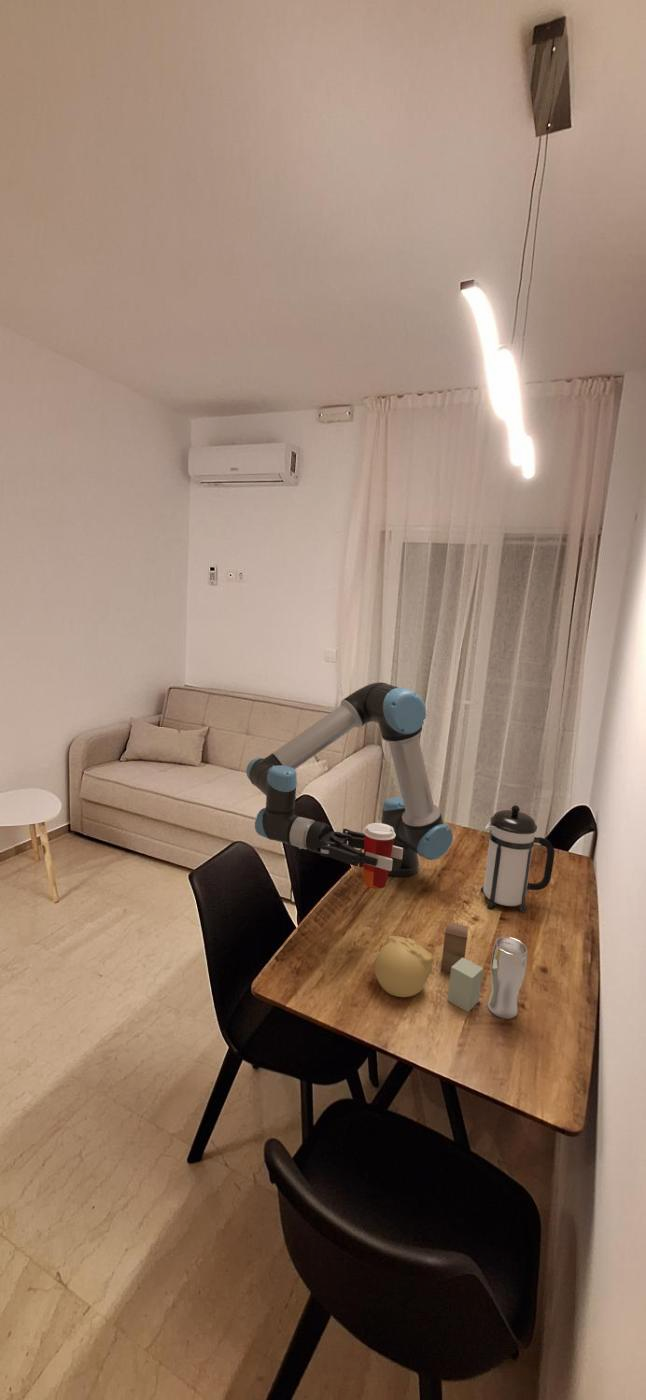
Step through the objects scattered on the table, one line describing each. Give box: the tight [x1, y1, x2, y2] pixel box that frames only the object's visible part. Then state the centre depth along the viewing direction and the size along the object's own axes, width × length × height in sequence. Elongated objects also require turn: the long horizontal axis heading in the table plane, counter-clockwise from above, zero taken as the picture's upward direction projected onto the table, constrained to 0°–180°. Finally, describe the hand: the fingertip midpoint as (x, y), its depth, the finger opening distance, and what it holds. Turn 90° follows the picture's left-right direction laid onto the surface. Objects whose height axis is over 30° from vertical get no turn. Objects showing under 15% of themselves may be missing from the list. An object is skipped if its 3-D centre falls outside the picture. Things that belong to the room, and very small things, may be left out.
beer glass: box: [487, 936, 528, 1020], centre depth 120 cm, size 7×7×15 cm
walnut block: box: [440, 921, 469, 975], centre depth 133 cm, size 5×5×10 cm
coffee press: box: [480, 805, 555, 914], centre depth 165 cm, size 17×16×30 cm
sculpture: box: [374, 935, 435, 998], centre depth 125 cm, size 12×12×11 cm
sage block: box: [446, 957, 484, 1013], centre depth 123 cm, size 5×5×8 cm
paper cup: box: [362, 822, 396, 889], centre depth 135 cm, size 8×8×14 cm
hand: (396, 859), depth 133 cm, fingers closed on paper cup, 7 cm apart
